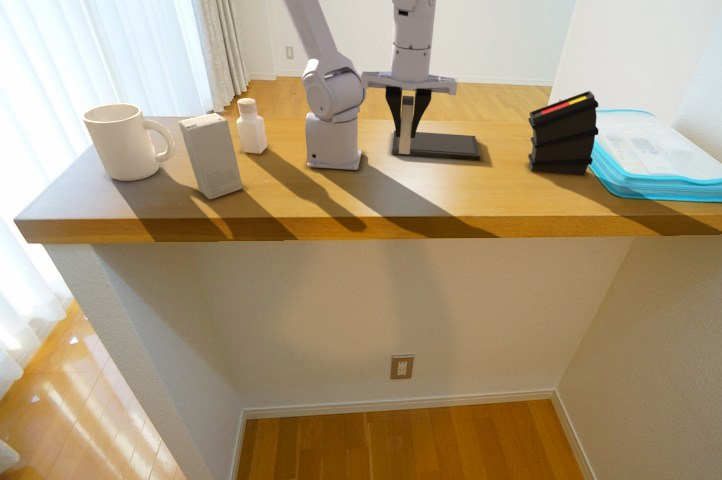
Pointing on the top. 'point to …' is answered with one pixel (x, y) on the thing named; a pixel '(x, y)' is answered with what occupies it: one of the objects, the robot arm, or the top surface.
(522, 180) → the top surface
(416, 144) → the tray
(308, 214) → the top surface
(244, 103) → the pepper shaker
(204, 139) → the cosmetic box
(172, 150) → the mug
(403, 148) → the cream rectangular bar
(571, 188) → the top surface
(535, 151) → the magazine
